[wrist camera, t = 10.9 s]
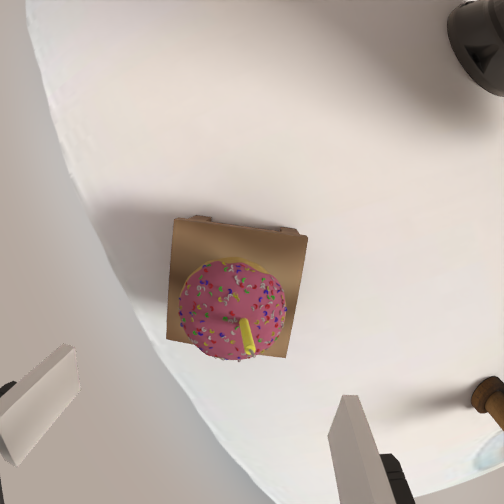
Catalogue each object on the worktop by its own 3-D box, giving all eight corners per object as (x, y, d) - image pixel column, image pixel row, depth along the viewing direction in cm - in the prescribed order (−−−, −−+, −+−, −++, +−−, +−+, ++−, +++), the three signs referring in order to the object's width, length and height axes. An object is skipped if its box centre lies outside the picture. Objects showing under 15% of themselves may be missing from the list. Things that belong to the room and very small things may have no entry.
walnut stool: (193, 212, 36) (174, 219, 28) (299, 226, 36) (308, 237, 28) (184, 310, 39) (166, 339, 31) (282, 325, 38) (285, 357, 31)
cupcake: (276, 240, 28) (282, 278, 17) (289, 328, 30) (300, 407, 18) (182, 255, 29) (130, 299, 17) (201, 339, 31) (169, 417, 19)
